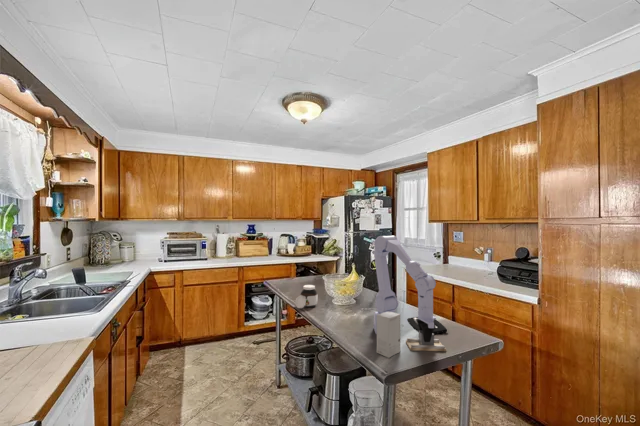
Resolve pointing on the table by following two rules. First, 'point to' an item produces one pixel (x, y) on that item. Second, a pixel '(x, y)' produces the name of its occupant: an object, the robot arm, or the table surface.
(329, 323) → the table surface
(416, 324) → the black picture frame
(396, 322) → the skincare box
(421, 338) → the module
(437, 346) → the rail board
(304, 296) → the spread jar
